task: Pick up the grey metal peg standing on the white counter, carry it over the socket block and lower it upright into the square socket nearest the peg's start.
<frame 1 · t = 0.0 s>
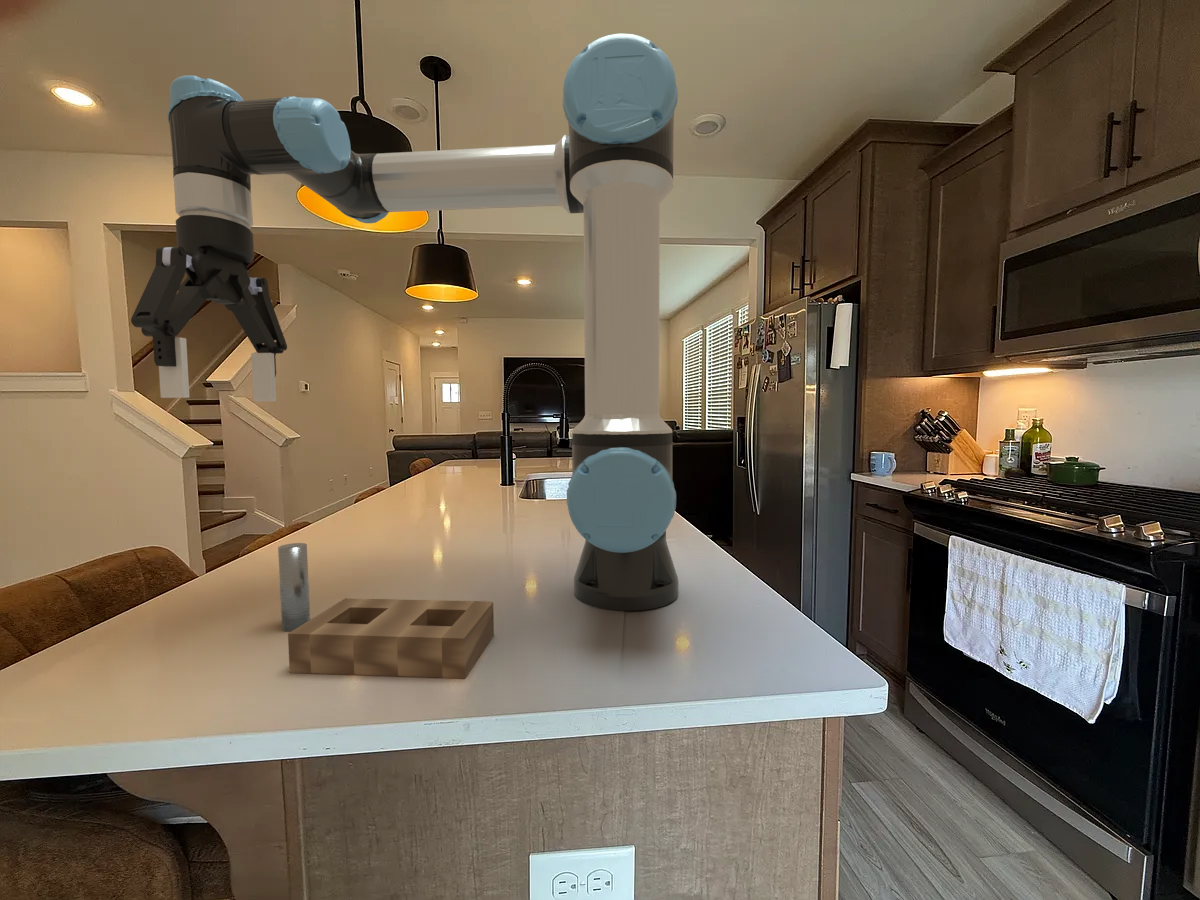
hand: (224, 400, 64), 28 cm above the worktop, fingers open, 13 cm apart
socket block: (399, 652, 56), on the worktop
peg: (296, 626, 63), on the worktop
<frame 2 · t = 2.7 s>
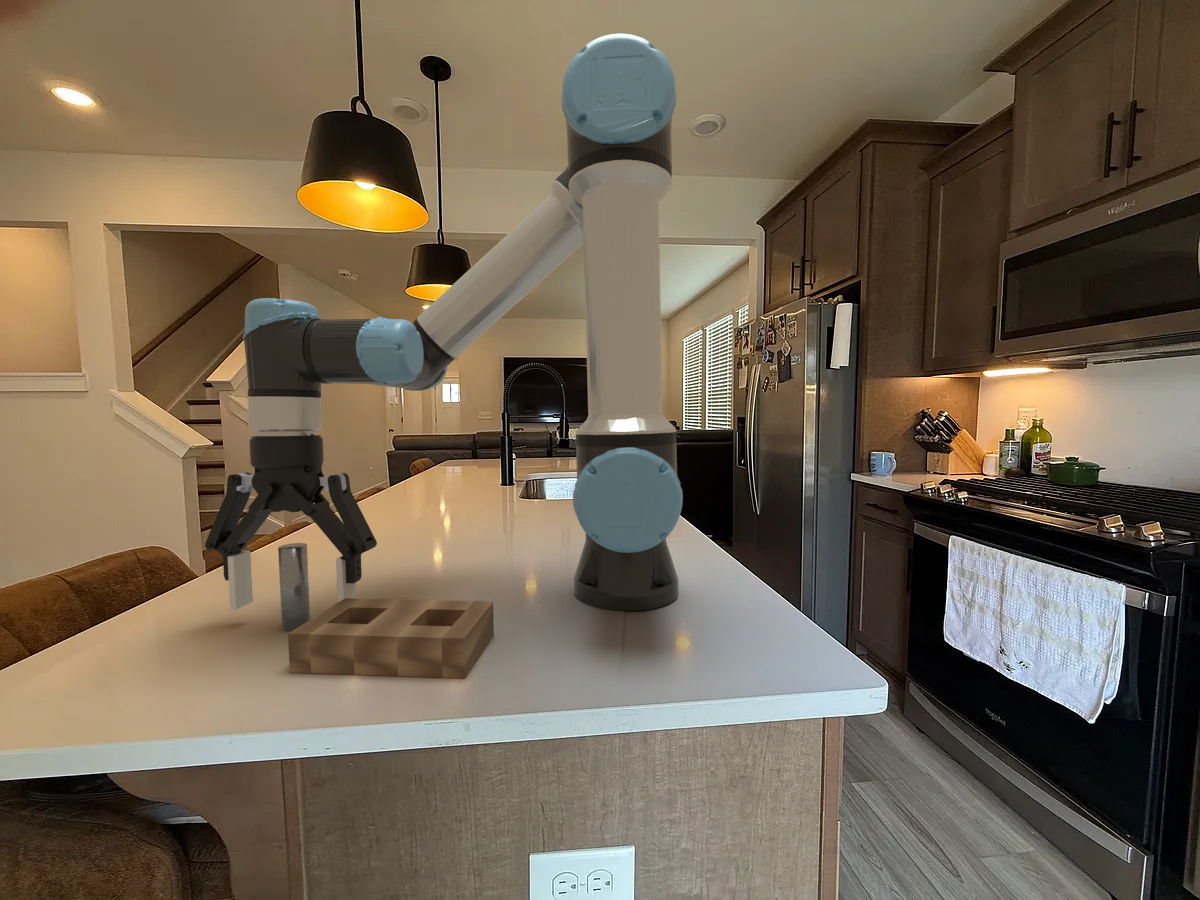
hand: (294, 607, 63), 2 cm above the worktop, fingers open, 13 cm apart
nothing on the worktop moved.
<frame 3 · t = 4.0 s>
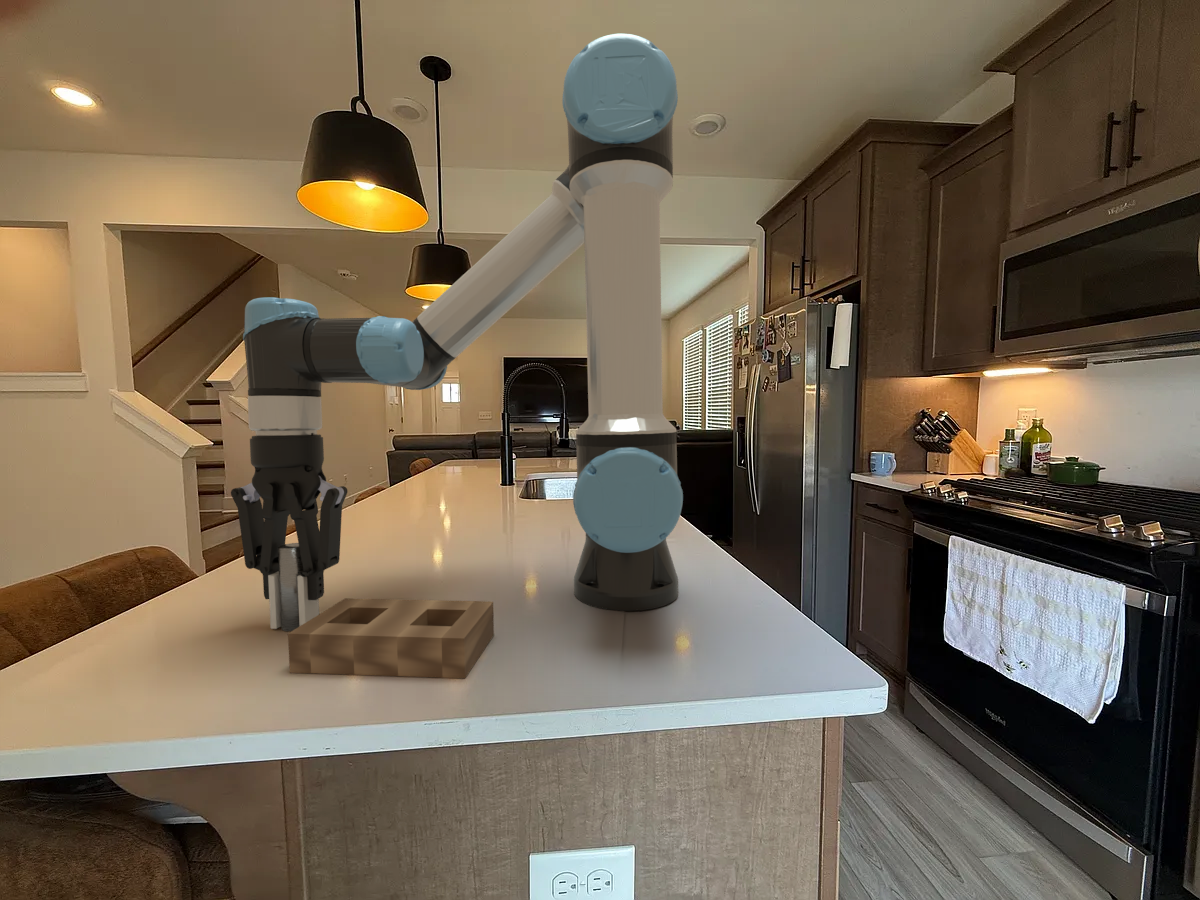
hand: (295, 624, 63), 0 cm above the worktop, fingers closed on peg, 3 cm apart
peg: (295, 626, 63), on the worktop, touching gripper
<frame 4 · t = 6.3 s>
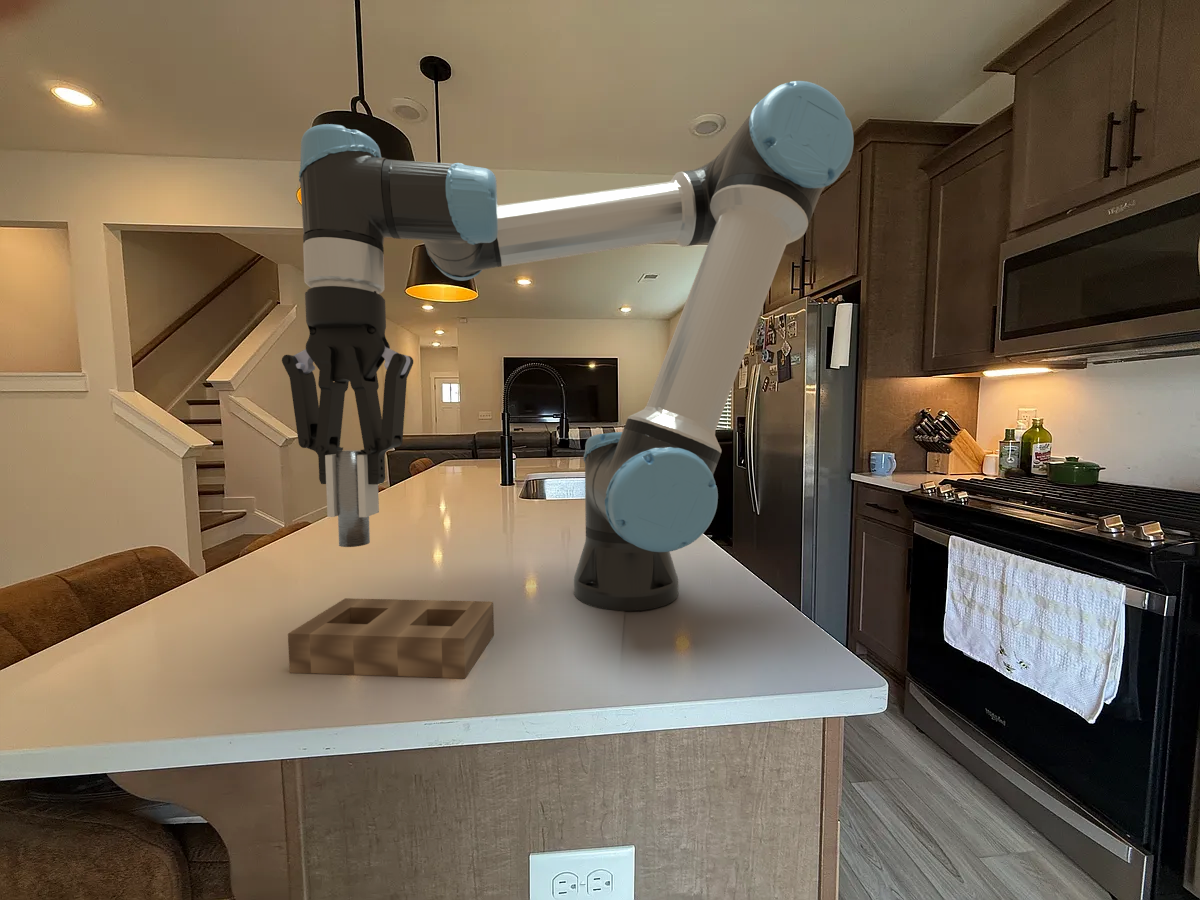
hand: (353, 514, 55), 15 cm above the worktop, fingers closed on peg, 3 cm apart
peg: (354, 543, 55), point 12 cm above the worktop, touching gripper
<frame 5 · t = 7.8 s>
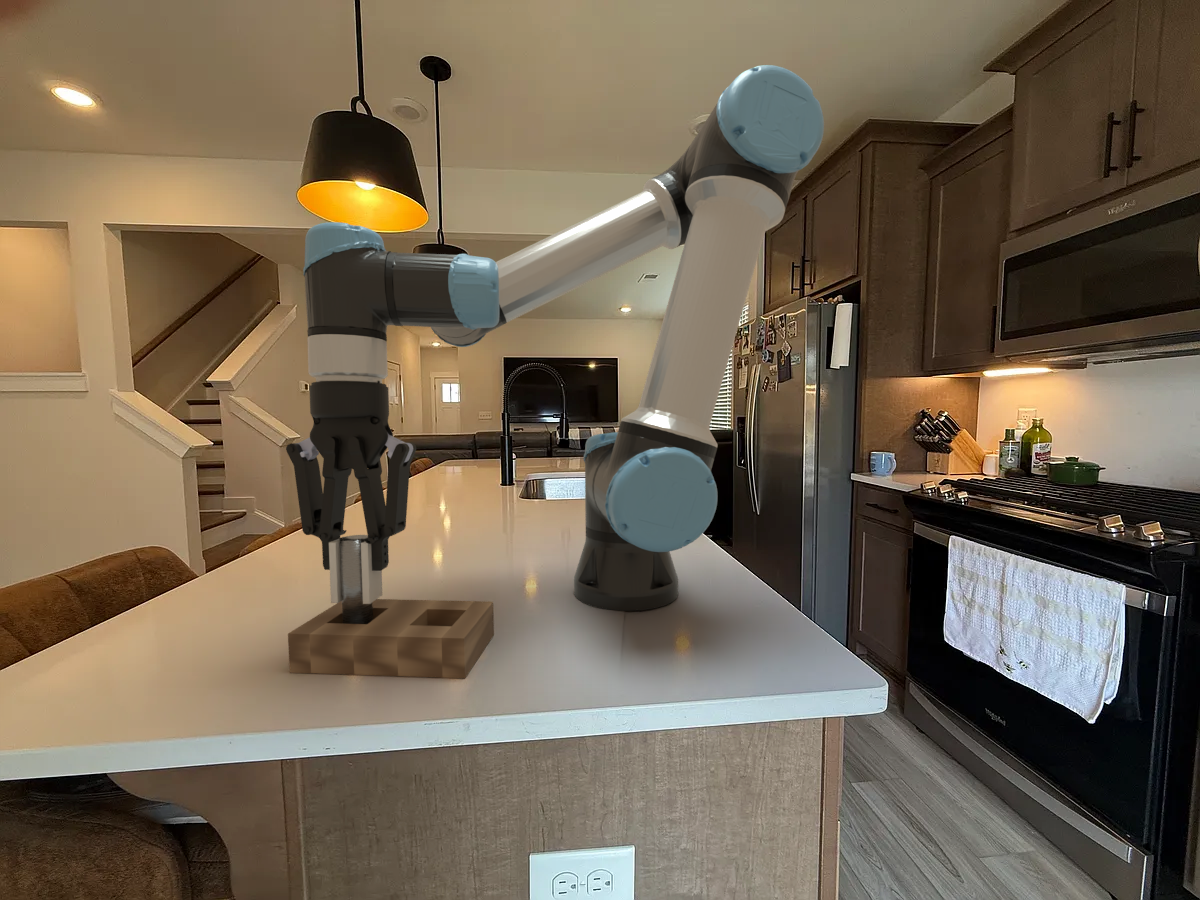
hand: (357, 598, 56), 6 cm above the worktop, fingers closed on peg, 3 cm apart
peg: (358, 628, 56), point 3 cm above the worktop, touching gripper
when the fingers open (6 cm above the worktop, at t = 8.8 s): peg drops 2 cm, resting in socket block.
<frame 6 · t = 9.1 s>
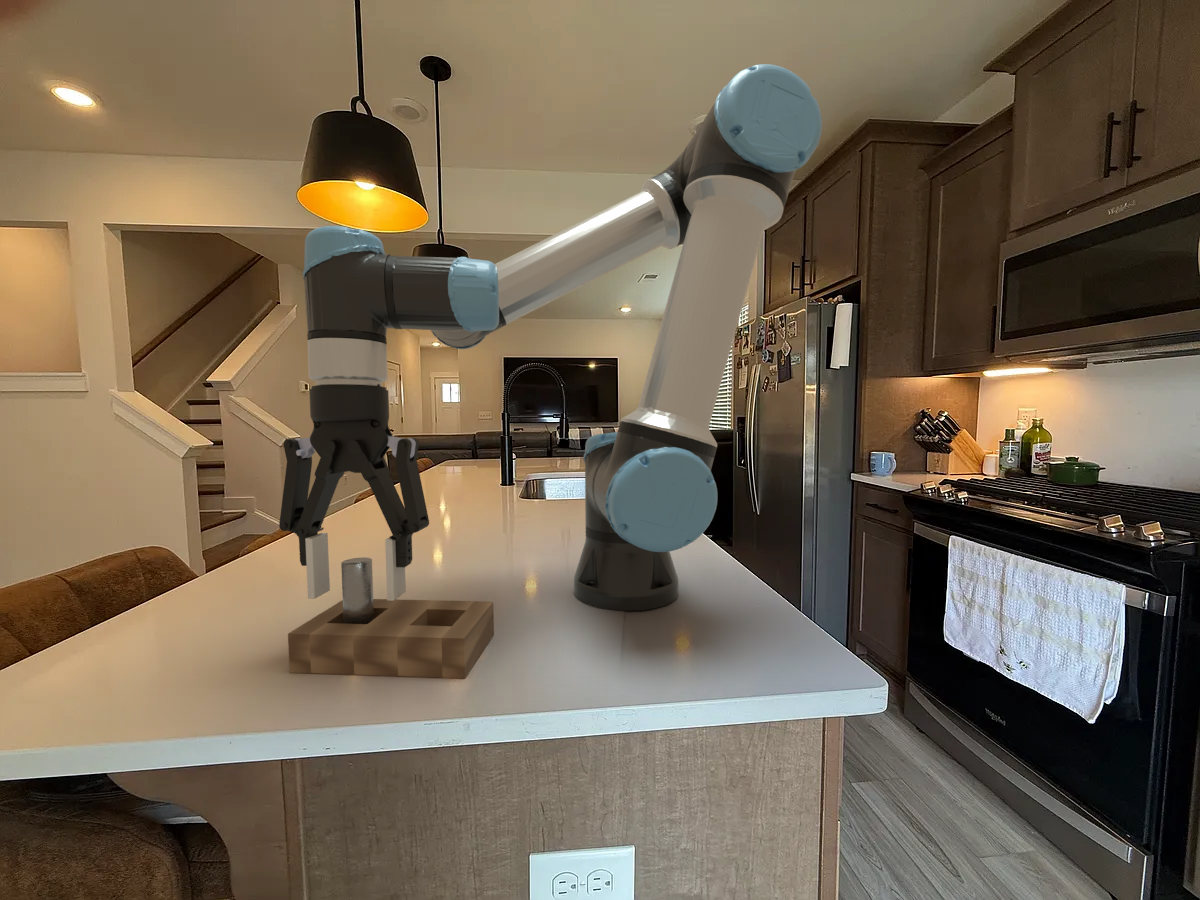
hand: (357, 595, 56), 6 cm above the worktop, fingers open, 8 cm apart
peg: (360, 651, 56), resting in socket block
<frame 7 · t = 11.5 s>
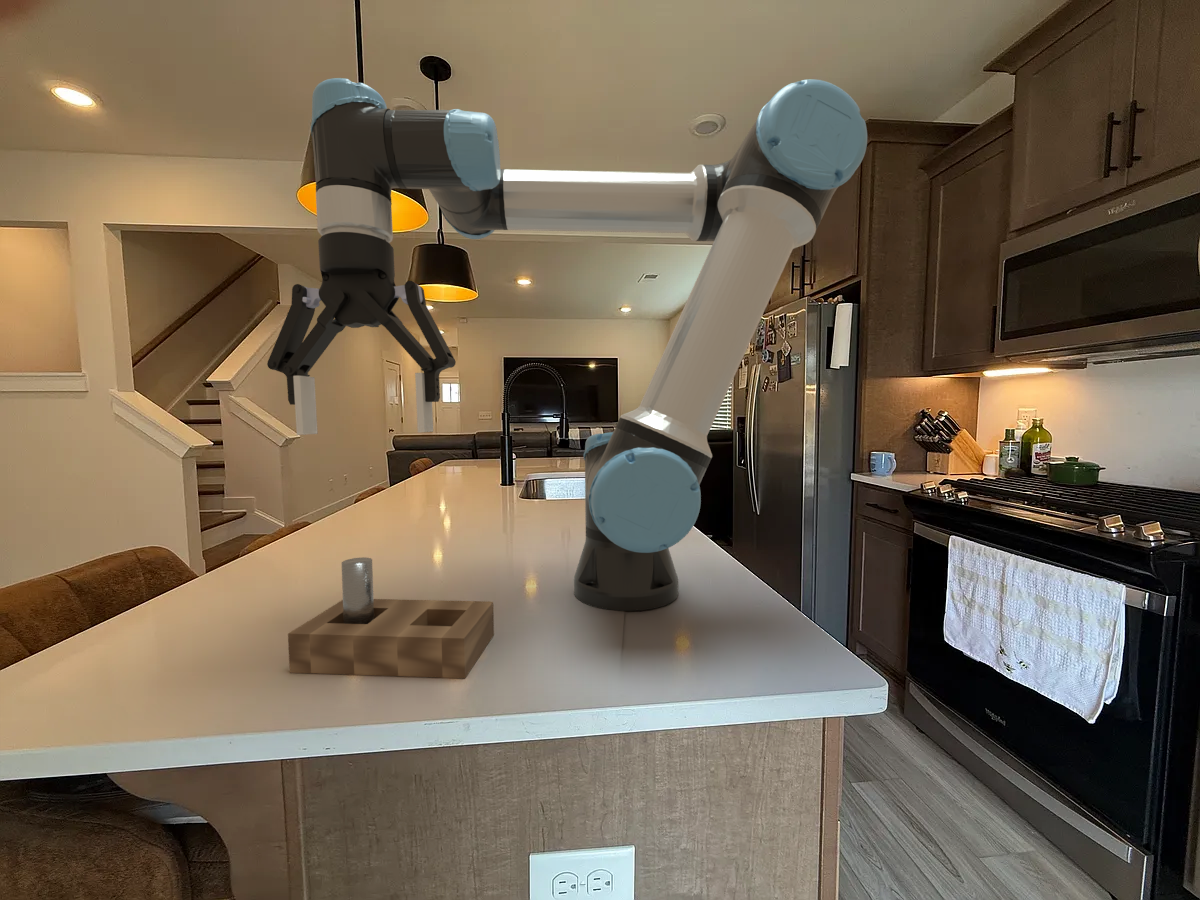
hand: (366, 433, 58), 24 cm above the worktop, fingers open, 13 cm apart
nothing on the worktop moved.
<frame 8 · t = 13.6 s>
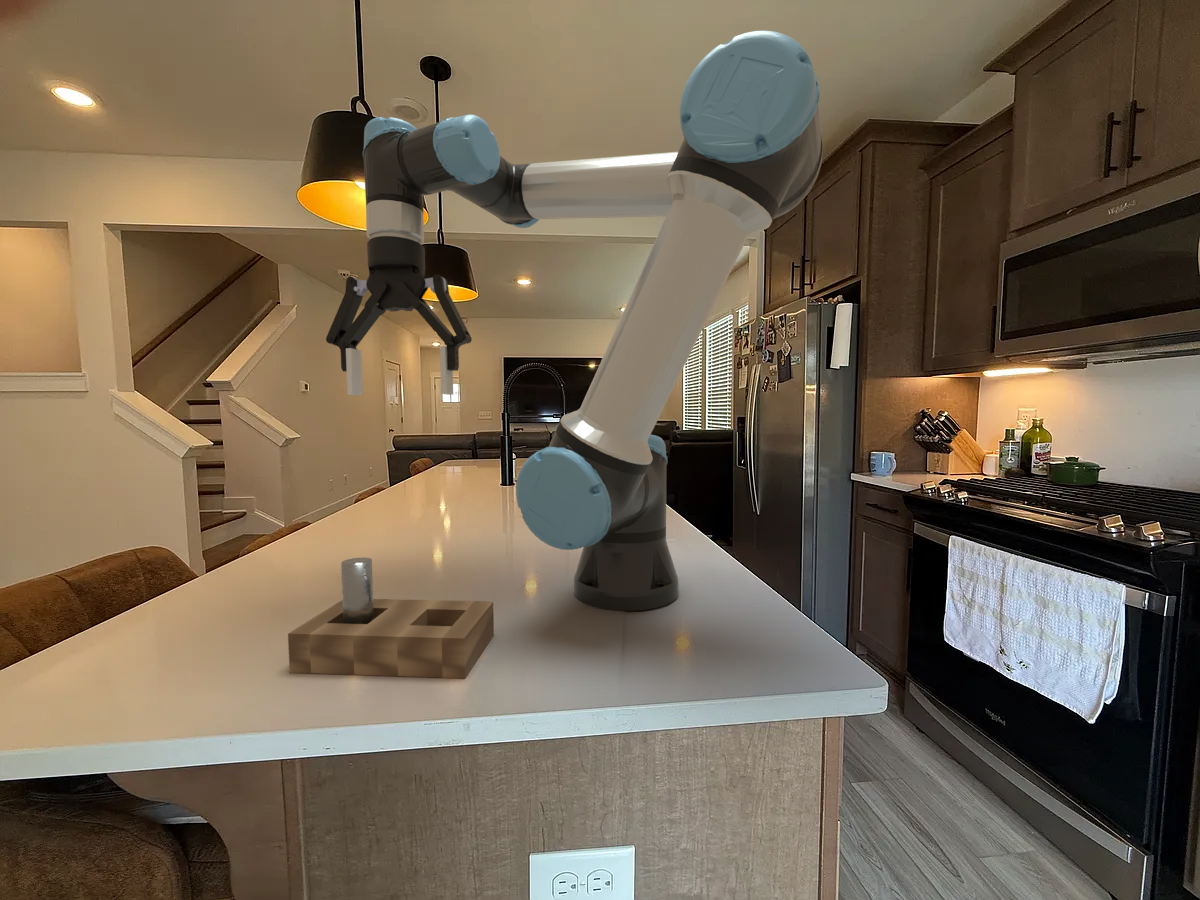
hand: (401, 395, 73), 29 cm above the worktop, fingers open, 13 cm apart
nothing on the worktop moved.
at the end: peg 0.0 cm from the target spot on the socket block, point 0.0 cm above the socket block's base; peg tilted 0°; the gripper is holding nothing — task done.
